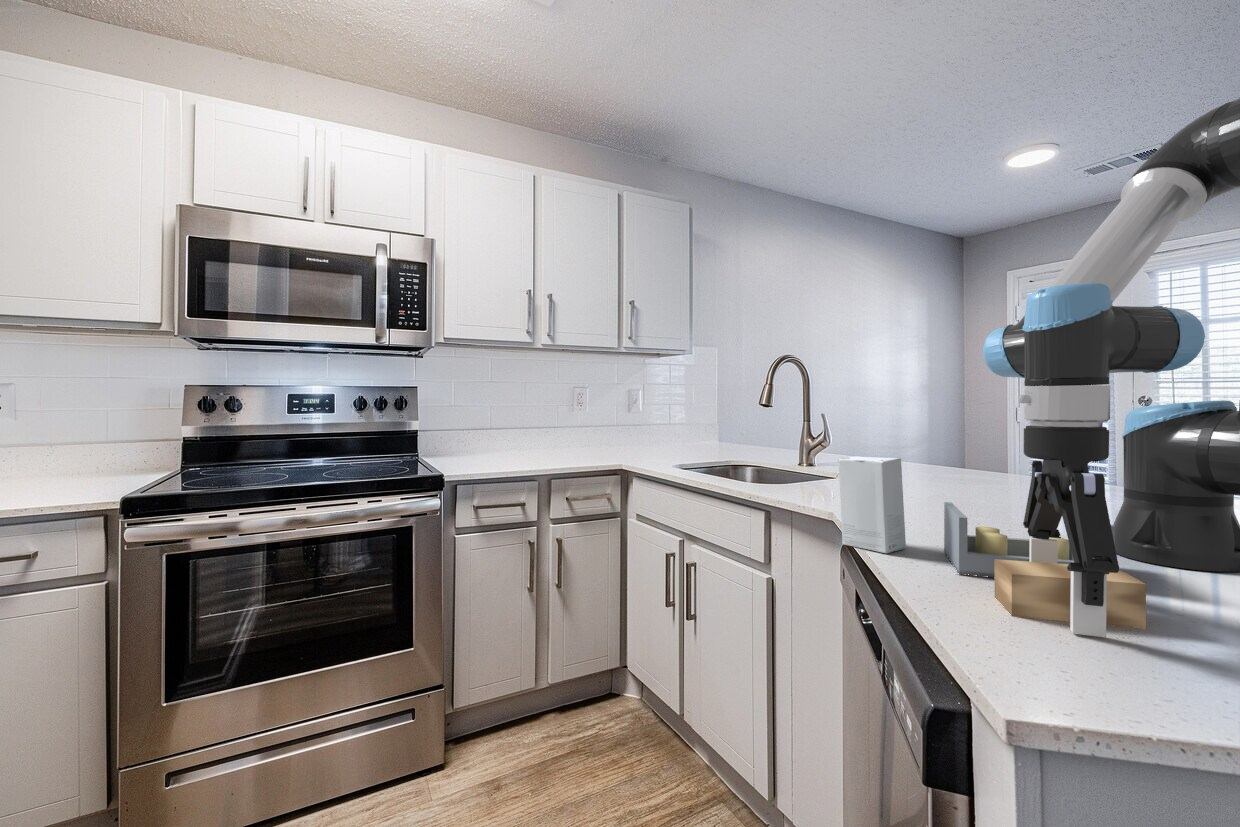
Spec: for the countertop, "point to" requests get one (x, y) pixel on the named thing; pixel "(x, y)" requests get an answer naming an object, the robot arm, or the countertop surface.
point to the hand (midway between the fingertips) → (1063, 610)
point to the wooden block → (1064, 593)
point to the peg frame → (987, 545)
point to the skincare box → (872, 503)
